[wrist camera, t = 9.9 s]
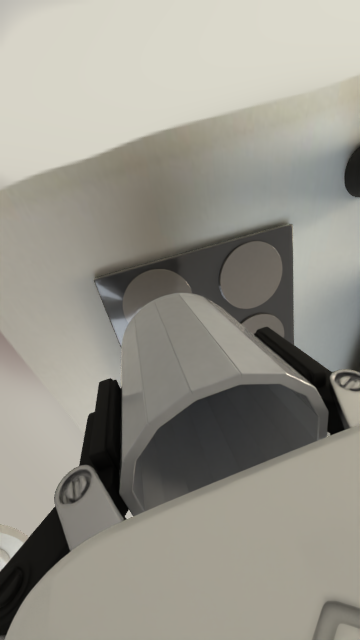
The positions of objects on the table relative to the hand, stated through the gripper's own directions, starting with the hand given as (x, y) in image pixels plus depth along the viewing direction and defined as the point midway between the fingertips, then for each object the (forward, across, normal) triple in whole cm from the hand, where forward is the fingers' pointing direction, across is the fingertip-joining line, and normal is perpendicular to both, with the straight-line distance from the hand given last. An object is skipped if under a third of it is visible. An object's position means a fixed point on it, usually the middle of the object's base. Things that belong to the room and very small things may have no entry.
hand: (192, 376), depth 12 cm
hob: (+13, -5, +4) cm, 14 cm away
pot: (+3, 0, 0) cm, 3 cm away
